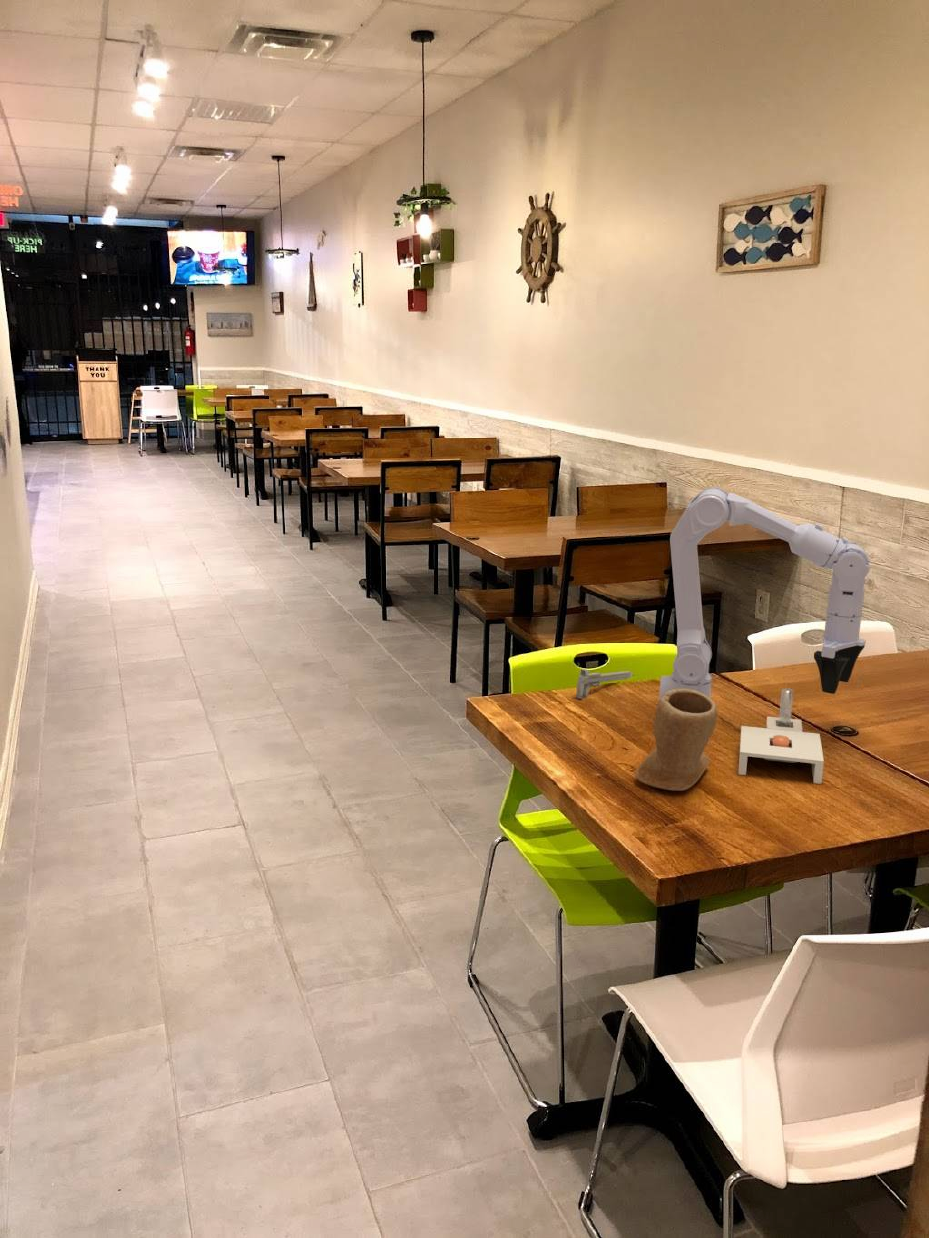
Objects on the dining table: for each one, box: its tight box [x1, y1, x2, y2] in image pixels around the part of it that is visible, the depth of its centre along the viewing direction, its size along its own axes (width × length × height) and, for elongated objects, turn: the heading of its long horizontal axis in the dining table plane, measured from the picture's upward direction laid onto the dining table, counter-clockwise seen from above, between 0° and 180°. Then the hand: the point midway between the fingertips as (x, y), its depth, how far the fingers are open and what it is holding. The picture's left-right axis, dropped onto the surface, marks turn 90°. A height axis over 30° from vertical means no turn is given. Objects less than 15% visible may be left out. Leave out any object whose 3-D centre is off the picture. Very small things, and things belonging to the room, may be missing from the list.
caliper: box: [576, 668, 635, 700], centre depth 201 cm, size 20×1×6 cm, turn 139°
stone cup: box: [635, 689, 718, 792], centre depth 157 cm, size 15×12×15 cm
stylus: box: [778, 688, 795, 728], centre depth 174 cm, size 2×2×9 cm
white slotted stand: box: [737, 725, 825, 785], centre depth 163 cm, size 13×12×4 cm
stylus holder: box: [765, 716, 804, 732], centre depth 175 cm, size 6×6×2 cm
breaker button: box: [764, 735, 796, 764], centre depth 163 cm, size 5×5×3 cm
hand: (835, 686), depth 172 cm, fingers open, 7 cm apart
